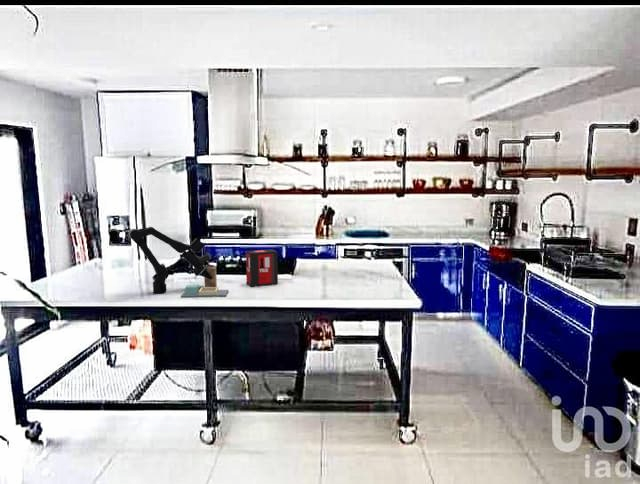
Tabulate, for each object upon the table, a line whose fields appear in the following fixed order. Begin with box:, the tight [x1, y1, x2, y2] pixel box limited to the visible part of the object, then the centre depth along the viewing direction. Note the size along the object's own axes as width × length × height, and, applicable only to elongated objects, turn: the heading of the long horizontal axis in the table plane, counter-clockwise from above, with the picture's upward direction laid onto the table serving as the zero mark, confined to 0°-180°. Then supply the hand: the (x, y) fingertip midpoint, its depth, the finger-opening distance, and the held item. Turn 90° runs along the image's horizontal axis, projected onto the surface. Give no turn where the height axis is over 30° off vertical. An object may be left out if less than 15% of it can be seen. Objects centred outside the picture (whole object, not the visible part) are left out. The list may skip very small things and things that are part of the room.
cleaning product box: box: [245, 249, 279, 288], centre depth 306 cm, size 16×9×20 cm, turn 115°
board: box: [180, 284, 229, 299], centre depth 282 cm, size 24×12×5 cm, turn 95°
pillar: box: [203, 266, 218, 287], centre depth 294 cm, size 6×6×12 cm
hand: (212, 277), depth 294 cm, fingers closed on pillar, 6 cm apart
